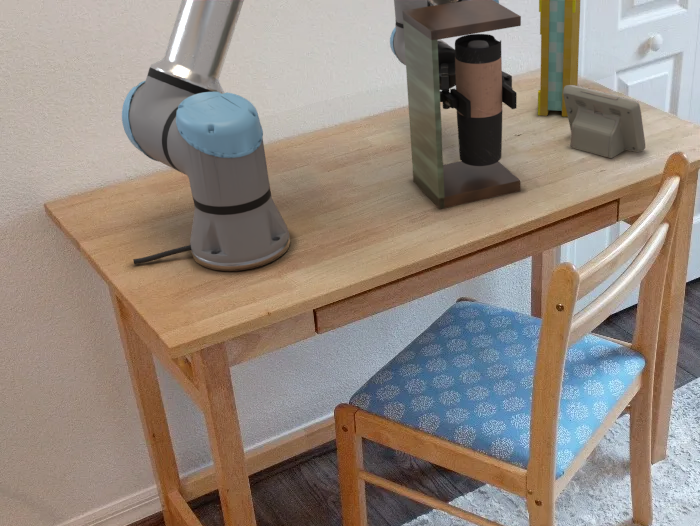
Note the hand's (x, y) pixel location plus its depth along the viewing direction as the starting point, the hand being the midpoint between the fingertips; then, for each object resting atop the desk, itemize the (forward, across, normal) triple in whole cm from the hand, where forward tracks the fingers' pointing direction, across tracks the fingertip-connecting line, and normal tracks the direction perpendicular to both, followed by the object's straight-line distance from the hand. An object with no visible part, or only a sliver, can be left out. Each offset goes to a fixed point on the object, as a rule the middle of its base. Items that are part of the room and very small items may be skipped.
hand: (491, 105), depth 162 cm
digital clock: (-9, -27, -16) cm, 32 cm away
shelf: (-5, +3, -16) cm, 17 cm away
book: (-33, -31, -16) cm, 48 cm away
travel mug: (-5, 0, -11) cm, 12 cm away
